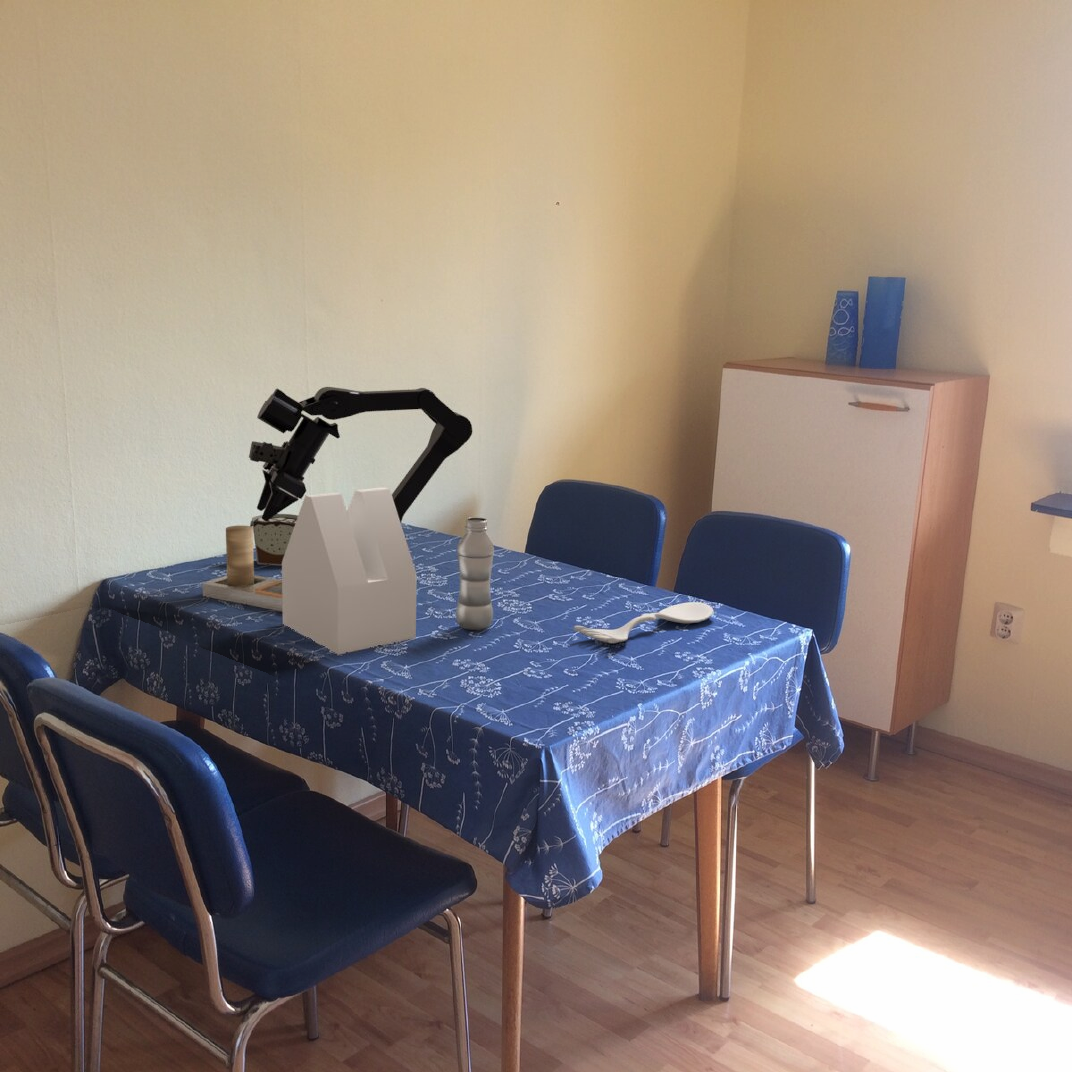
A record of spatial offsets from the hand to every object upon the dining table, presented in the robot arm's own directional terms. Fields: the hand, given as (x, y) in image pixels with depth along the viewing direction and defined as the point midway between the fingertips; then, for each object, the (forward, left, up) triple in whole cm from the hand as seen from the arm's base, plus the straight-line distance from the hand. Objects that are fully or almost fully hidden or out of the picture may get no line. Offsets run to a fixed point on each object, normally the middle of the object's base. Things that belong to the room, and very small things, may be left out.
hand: (261, 514), depth 214 cm
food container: (+11, -20, -15) cm, 28 cm away
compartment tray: (-3, +4, -15) cm, 16 cm away
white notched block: (-28, +12, -16) cm, 34 cm away
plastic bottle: (-46, -1, -15) cm, 49 cm away
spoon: (-74, -17, -16) cm, 78 cm away
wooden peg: (+2, +4, -15) cm, 16 cm away
